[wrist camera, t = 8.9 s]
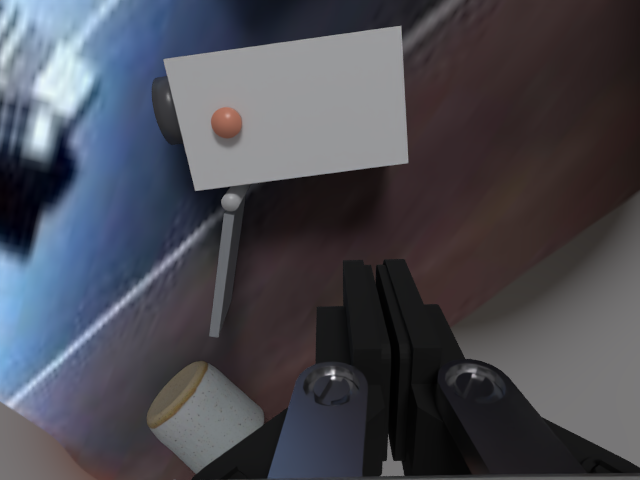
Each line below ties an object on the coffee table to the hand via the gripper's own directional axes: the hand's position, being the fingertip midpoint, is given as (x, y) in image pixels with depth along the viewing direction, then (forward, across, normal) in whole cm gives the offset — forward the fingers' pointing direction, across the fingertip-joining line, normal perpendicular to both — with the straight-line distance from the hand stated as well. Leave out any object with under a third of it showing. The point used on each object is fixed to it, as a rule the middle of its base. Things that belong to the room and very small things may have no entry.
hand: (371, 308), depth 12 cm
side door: (+23, +9, +7) cm, 26 cm away
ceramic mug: (+23, +14, +24) cm, 36 cm away
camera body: (+23, +3, -4) cm, 24 cm away
